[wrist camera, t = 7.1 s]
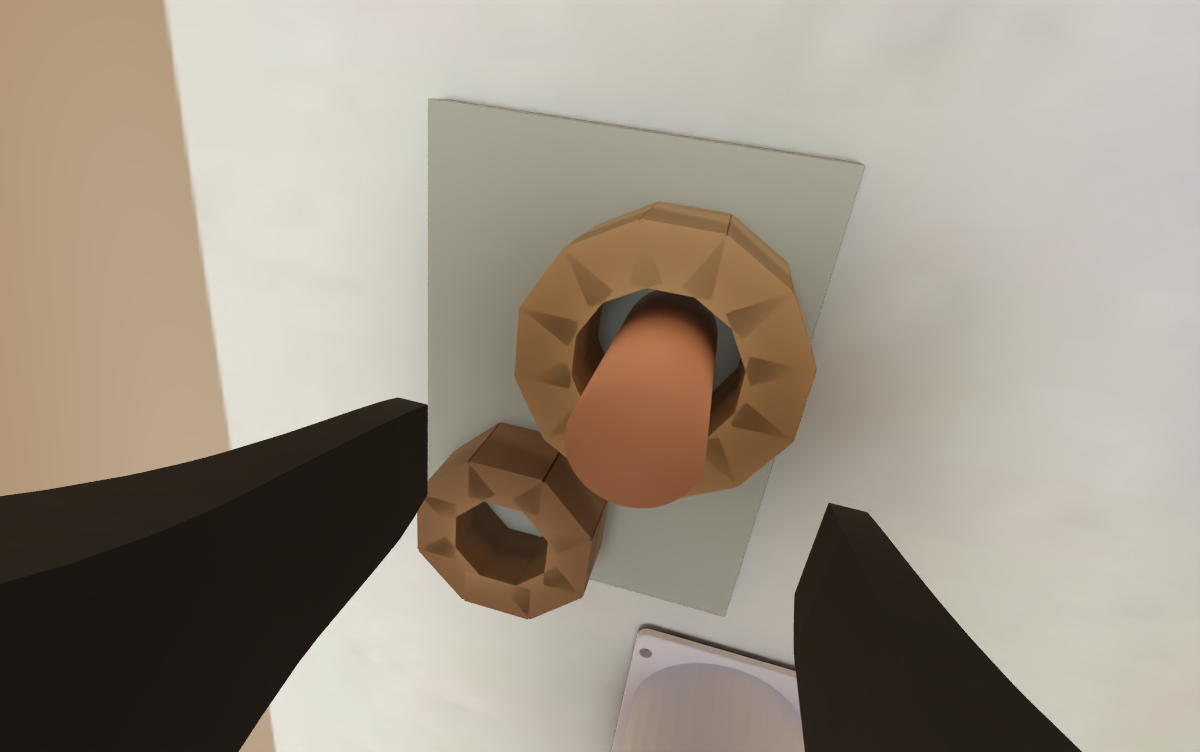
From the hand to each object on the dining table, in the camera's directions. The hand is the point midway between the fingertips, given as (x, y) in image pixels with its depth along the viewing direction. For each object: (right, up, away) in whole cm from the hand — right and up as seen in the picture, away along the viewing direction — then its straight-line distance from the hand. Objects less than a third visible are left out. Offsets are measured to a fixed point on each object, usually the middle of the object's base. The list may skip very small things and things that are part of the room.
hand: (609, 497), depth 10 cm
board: (0, +2, +10) cm, 10 cm away
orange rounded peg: (+2, +3, +7) cm, 8 cm away
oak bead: (+2, +3, +7) cm, 8 cm away
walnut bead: (-3, -2, +11) cm, 12 cm away
